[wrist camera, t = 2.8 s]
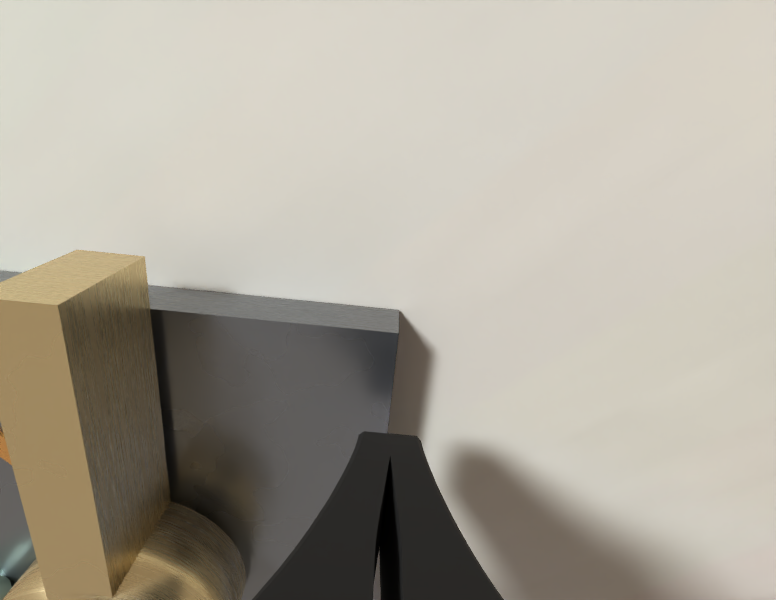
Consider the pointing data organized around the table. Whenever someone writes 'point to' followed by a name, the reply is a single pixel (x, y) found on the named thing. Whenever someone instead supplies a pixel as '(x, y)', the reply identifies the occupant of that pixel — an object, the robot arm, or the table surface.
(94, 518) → the gold elongated piece
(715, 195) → the table surface
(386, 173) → the table surface
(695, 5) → the table surface
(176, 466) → the base plate
